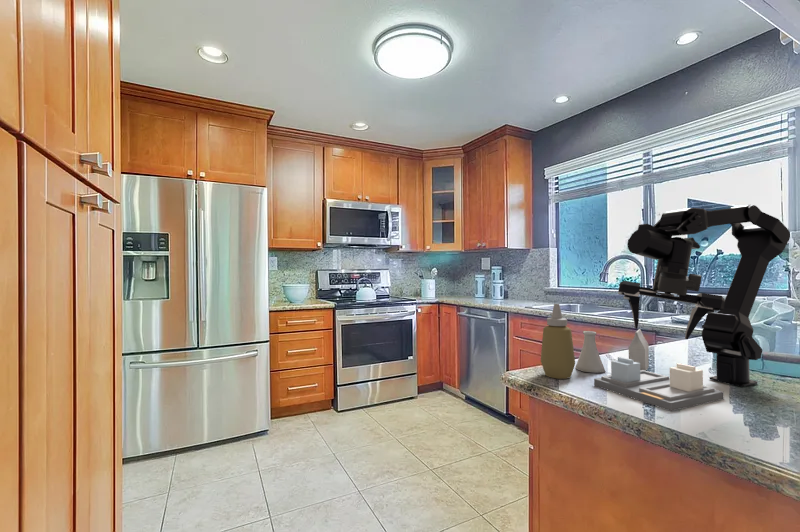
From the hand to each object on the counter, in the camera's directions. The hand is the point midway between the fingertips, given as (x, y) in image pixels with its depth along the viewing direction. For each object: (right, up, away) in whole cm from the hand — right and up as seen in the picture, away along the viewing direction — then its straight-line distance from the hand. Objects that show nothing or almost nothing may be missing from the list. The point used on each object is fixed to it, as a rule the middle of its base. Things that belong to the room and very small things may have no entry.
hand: (660, 333), depth 83 cm
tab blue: (-7, -11, +2) cm, 13 cm away
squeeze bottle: (-18, -13, +11) cm, 25 cm away
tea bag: (+6, -13, +18) cm, 23 cm away
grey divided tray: (-2, -12, -1) cm, 13 cm away
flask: (-7, -13, +17) cm, 22 cm away
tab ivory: (+2, -11, -4) cm, 12 cm away
